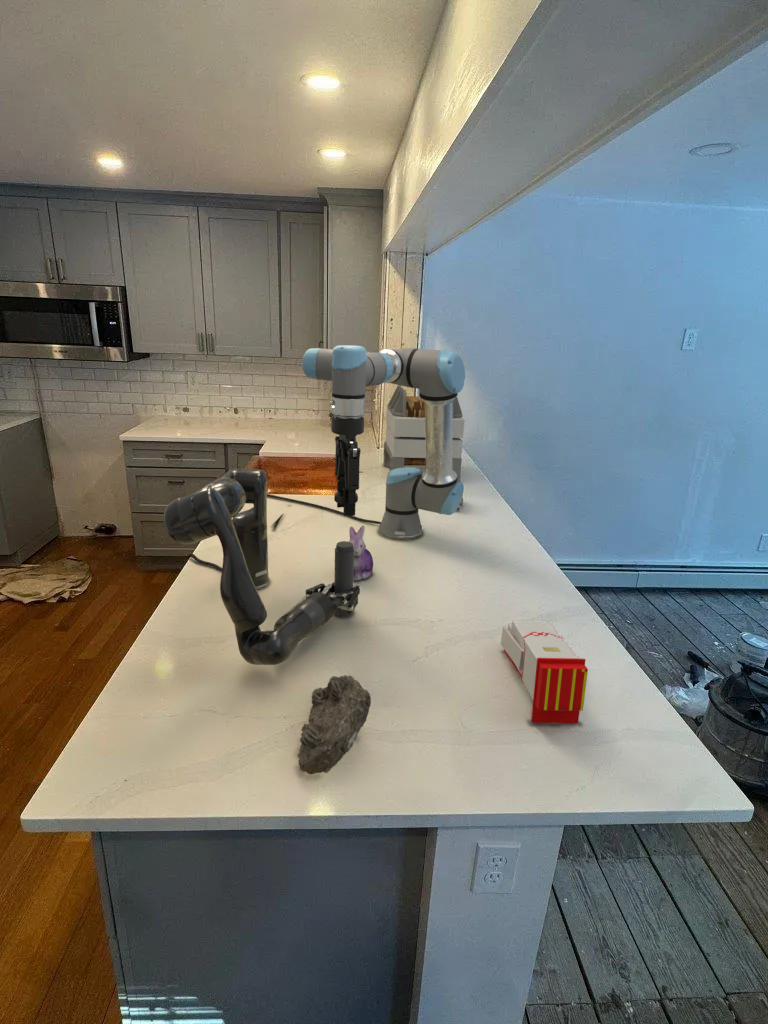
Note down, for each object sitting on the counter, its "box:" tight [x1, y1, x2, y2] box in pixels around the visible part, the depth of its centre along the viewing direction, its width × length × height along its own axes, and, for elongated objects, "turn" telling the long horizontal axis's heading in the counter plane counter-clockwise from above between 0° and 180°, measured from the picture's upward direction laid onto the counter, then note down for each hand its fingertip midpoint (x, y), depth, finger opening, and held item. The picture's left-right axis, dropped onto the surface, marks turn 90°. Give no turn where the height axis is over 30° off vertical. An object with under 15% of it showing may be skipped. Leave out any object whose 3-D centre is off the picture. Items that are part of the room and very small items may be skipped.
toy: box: [500, 620, 589, 724], centre depth 121 cm, size 12×13×30 cm
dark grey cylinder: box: [333, 540, 354, 618], centre depth 144 cm, size 5×5×19 cm
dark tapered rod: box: [270, 513, 284, 530], centre depth 210 cm, size 2×28×2 cm
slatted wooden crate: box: [383, 385, 465, 482], centre depth 268 cm, size 34×33×41 cm
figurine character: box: [456, 495, 464, 511], centre depth 230 cm, size 7×8×15 cm
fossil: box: [296, 674, 372, 775], centre depth 103 cm, size 22×10×15 cm
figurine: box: [348, 525, 374, 581], centre depth 166 cm, size 9×10×15 cm
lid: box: [333, 491, 359, 504], centre depth 137 cm, size 6×6×2 cm
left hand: (348, 586), depth 147 cm, fingers closed on dark grey cylinder, 5 cm apart
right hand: (345, 510), depth 138 cm, fingers closed on lid, 5 cm apart
